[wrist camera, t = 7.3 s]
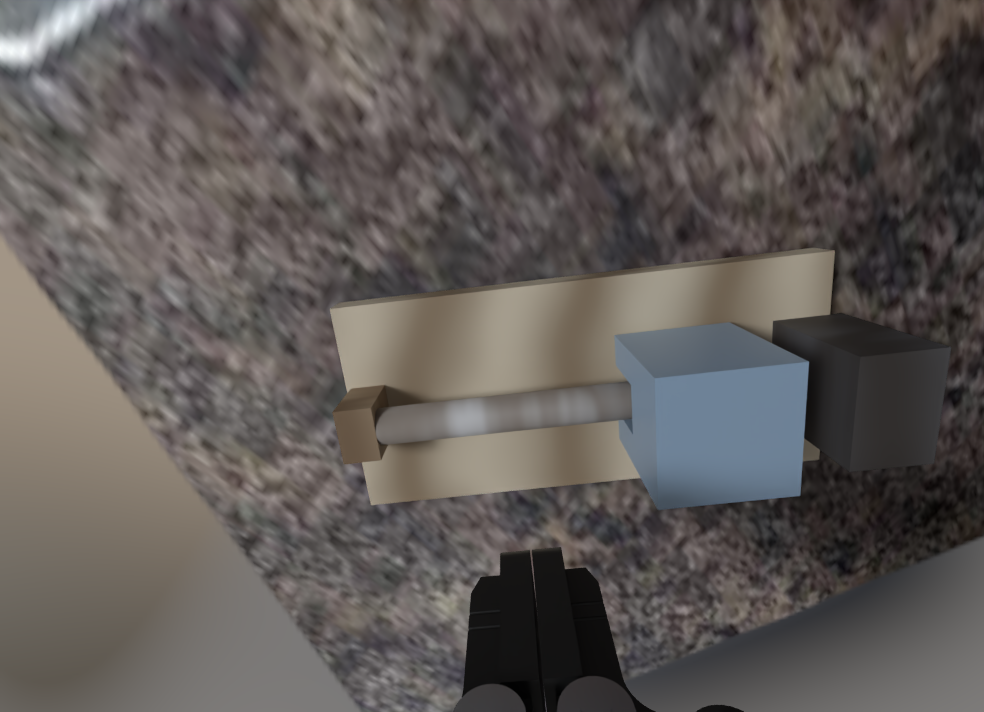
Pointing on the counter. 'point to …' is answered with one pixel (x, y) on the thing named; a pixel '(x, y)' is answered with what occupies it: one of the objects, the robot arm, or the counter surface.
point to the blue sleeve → (713, 415)
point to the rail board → (606, 374)
